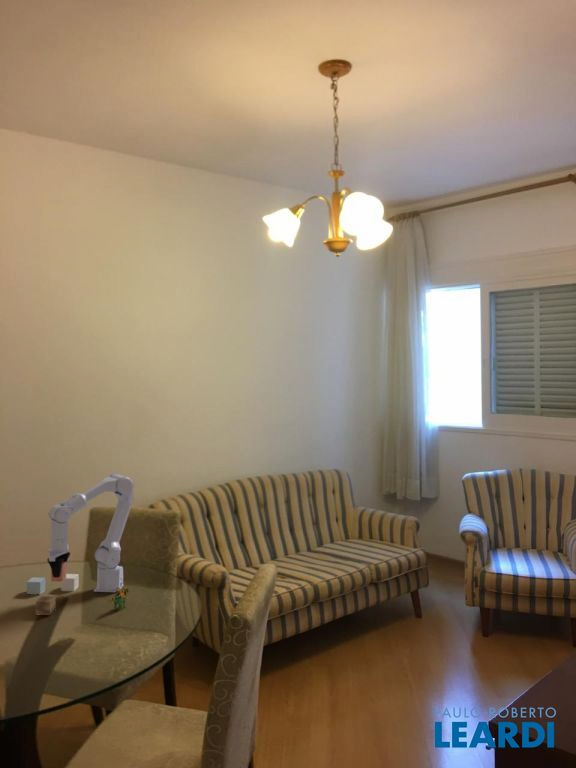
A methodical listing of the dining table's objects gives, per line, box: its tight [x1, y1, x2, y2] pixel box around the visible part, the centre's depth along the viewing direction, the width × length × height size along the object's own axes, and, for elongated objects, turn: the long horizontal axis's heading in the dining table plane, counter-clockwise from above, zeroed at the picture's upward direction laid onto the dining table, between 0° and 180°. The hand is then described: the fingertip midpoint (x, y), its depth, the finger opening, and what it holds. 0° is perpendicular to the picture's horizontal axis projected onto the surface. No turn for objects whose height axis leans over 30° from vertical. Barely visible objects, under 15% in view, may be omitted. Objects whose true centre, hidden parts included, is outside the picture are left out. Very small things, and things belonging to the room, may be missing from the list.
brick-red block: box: [50, 562, 67, 583], centre depth 235 cm, size 4×4×6 cm
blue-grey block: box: [26, 576, 47, 595], centre depth 242 cm, size 5×5×5 cm
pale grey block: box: [60, 573, 80, 592], centre depth 247 cm, size 5×5×5 cm
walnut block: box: [35, 595, 57, 615], centre depth 223 cm, size 5×5×5 cm
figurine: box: [107, 586, 130, 612], centre depth 228 cm, size 3×12×8 cm, turn 159°
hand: (58, 574), depth 235 cm, fingers closed on brick-red block, 4 cm apart
